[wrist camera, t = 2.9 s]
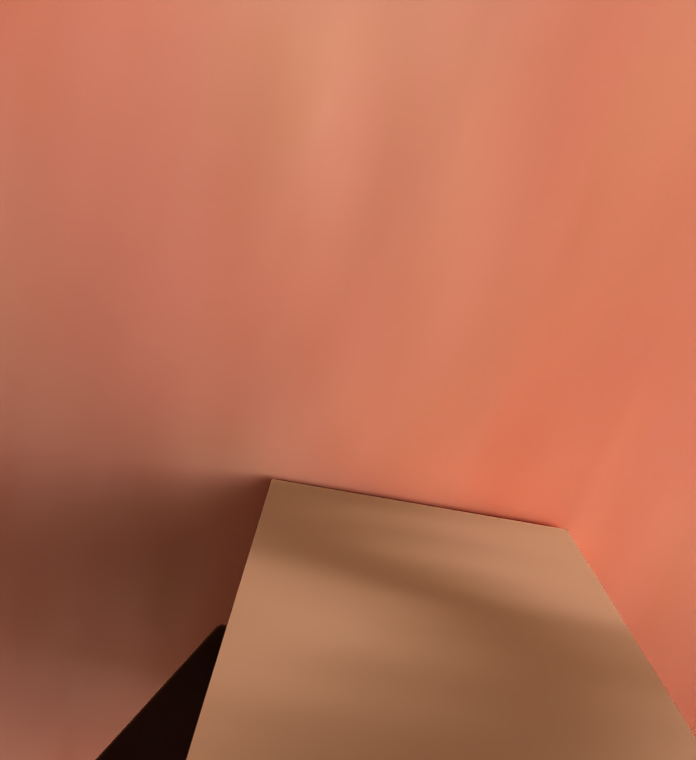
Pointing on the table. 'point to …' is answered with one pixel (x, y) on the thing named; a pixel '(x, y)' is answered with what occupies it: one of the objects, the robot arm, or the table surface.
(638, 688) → the birch cube
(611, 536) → the table surface
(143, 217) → the table surface
